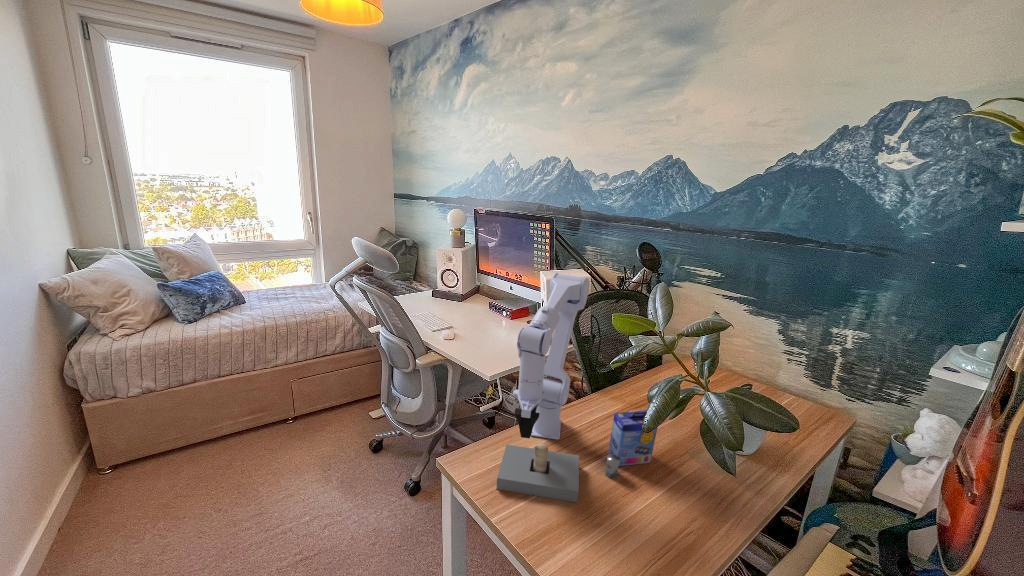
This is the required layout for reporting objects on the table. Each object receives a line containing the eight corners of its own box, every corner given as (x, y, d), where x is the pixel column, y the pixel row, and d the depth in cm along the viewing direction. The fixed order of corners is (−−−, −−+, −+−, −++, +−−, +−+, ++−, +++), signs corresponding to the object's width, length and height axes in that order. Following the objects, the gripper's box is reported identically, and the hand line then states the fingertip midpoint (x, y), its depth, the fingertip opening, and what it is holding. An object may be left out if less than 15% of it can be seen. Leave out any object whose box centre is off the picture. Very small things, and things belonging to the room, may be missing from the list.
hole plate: (505, 454, 104) (506, 444, 103) (577, 466, 101) (579, 455, 100) (496, 489, 92) (497, 477, 91) (577, 502, 90) (578, 491, 89)
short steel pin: (604, 469, 101) (606, 453, 100) (617, 470, 100) (619, 455, 99) (605, 477, 98) (607, 461, 97) (618, 479, 97) (620, 463, 96)
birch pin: (533, 471, 98) (536, 442, 96) (546, 473, 98) (548, 445, 96) (531, 480, 96) (534, 450, 93) (544, 482, 95) (547, 453, 93)
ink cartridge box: (616, 468, 101) (624, 416, 97) (606, 453, 106) (613, 403, 103) (652, 463, 104) (661, 413, 100) (641, 449, 109) (649, 400, 105)
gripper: (518, 361, 103) (515, 409, 107) (509, 389, 89) (506, 443, 93) (547, 364, 102) (542, 412, 106) (541, 394, 89) (536, 448, 92)
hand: (527, 427), depth 100 cm, fingers open, 7 cm apart
